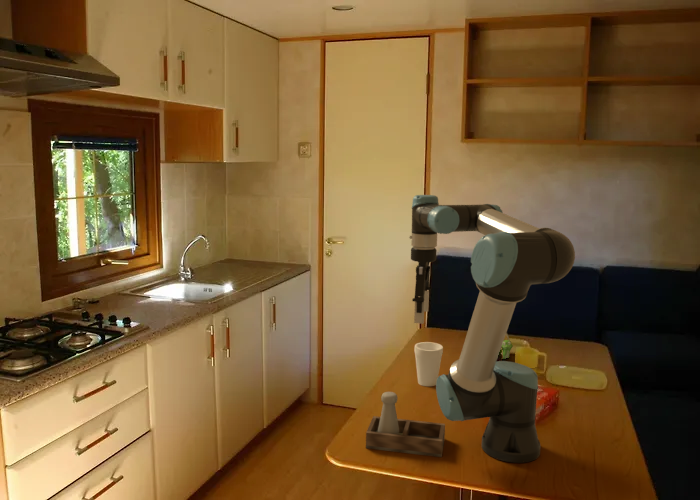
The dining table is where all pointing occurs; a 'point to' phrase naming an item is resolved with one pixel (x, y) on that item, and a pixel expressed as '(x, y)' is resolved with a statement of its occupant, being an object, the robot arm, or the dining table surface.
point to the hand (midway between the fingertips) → (421, 317)
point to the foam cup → (428, 362)
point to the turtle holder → (506, 347)
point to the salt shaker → (388, 414)
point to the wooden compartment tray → (408, 437)
